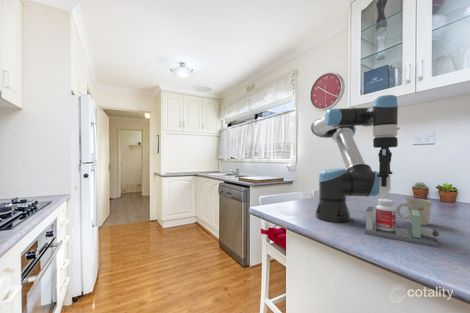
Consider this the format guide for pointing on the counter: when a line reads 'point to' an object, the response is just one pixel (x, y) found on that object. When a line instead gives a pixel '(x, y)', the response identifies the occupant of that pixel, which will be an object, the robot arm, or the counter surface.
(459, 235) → the counter surface
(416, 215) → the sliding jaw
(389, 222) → the pill bottle
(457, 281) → the counter surface
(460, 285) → the counter surface
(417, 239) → the vise base
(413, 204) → the mug
